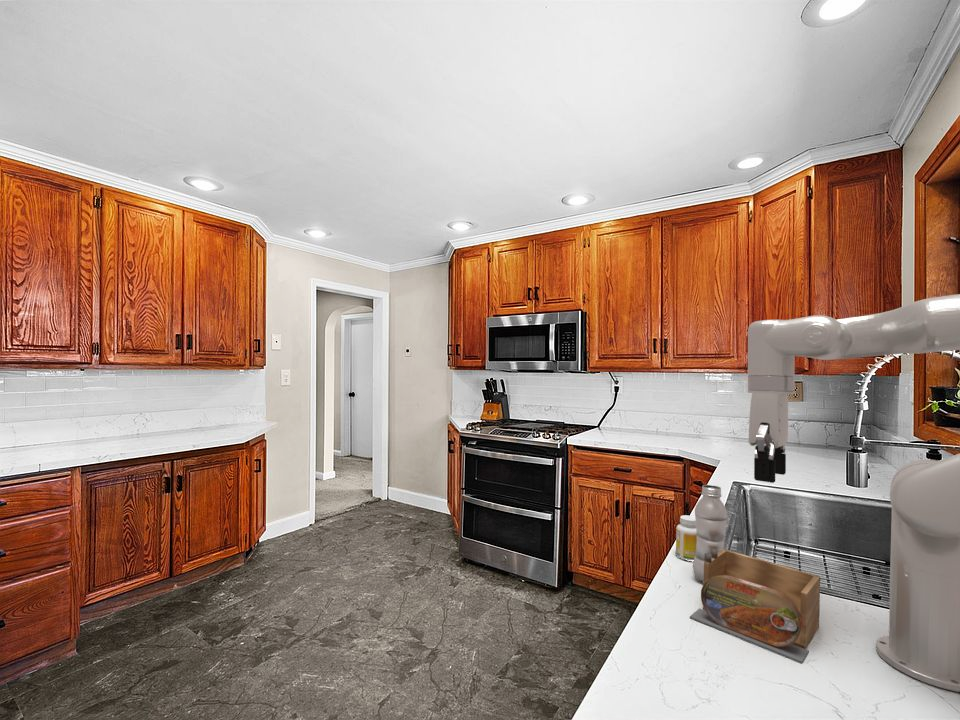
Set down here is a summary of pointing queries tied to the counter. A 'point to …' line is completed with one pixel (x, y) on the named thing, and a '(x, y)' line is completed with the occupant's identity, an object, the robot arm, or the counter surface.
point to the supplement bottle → (686, 537)
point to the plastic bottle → (709, 526)
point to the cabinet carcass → (772, 584)
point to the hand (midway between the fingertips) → (770, 477)
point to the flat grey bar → (787, 651)
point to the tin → (752, 610)
